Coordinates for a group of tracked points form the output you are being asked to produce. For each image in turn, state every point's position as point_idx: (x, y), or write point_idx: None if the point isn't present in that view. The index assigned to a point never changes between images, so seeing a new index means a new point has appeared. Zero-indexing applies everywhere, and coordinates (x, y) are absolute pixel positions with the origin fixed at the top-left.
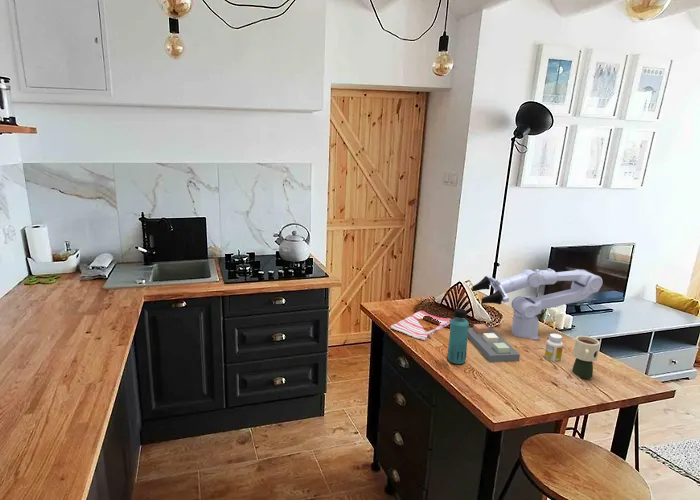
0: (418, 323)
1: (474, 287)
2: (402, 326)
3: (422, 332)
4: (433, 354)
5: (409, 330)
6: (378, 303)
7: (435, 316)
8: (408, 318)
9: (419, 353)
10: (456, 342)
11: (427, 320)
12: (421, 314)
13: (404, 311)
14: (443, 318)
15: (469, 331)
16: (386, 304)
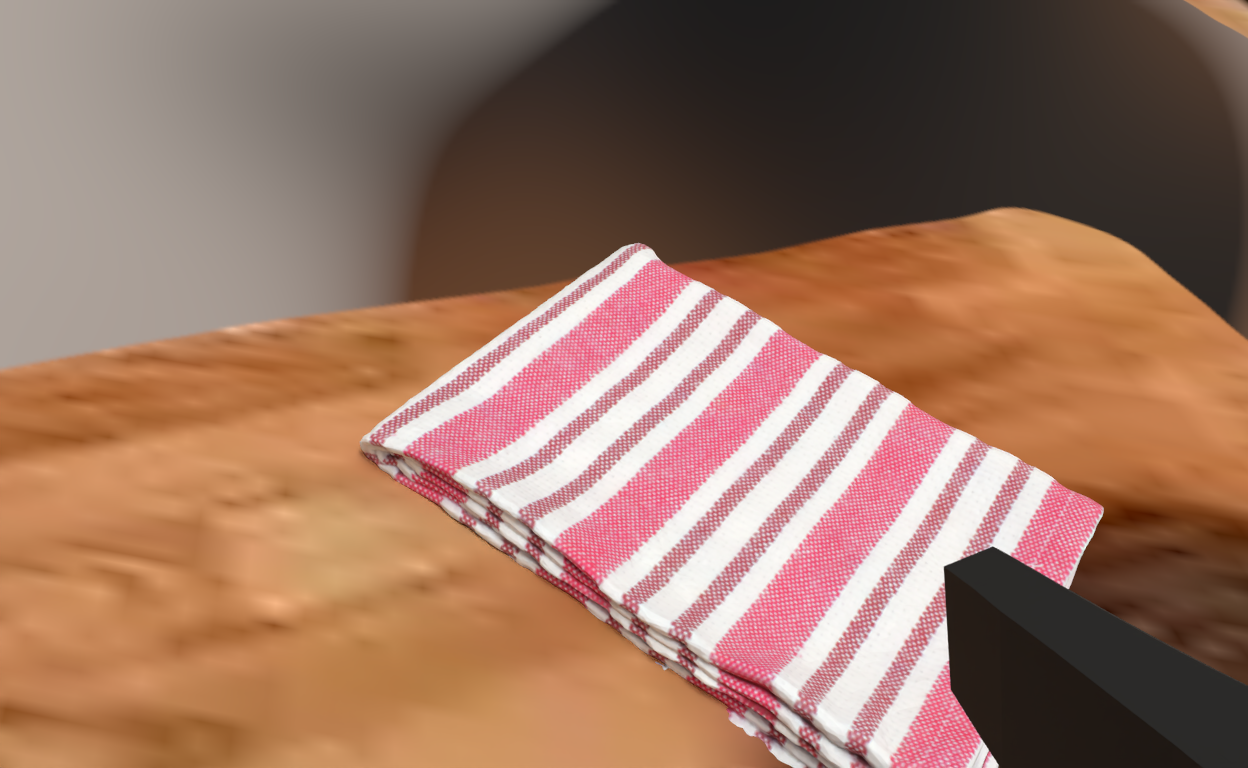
0: (794, 466)
1: (974, 614)
2: (634, 309)
3: (564, 462)
4: (11, 474)
5: (572, 355)
6: (1158, 282)
7: None
8: (849, 382)
9: (72, 367)
10: None
11: None
12: (1014, 509)
13: (1091, 424)
14: None
15: None
16: (1174, 327)
